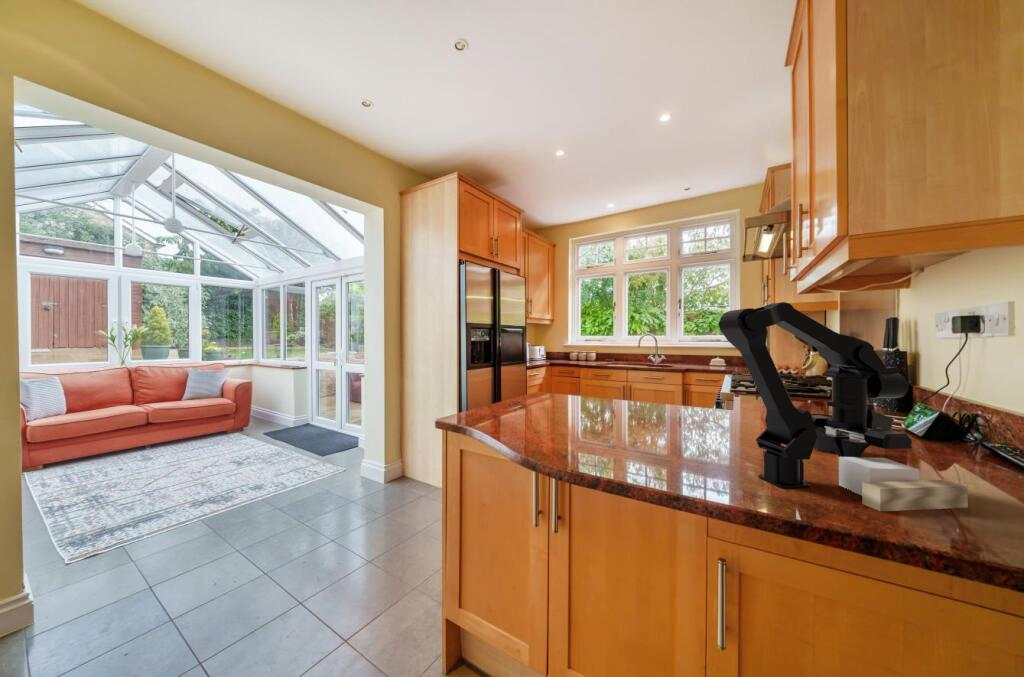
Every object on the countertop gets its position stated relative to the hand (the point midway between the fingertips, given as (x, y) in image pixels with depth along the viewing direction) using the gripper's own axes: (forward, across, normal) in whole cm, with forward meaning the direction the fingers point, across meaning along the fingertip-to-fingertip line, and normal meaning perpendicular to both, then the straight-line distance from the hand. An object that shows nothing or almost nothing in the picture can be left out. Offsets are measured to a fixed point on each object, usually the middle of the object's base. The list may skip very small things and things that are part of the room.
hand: (849, 469), depth 78 cm
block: (+2, -6, 0) cm, 6 cm away
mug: (+3, +21, -19) cm, 28 cm away
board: (+2, -12, 0) cm, 12 cm away
